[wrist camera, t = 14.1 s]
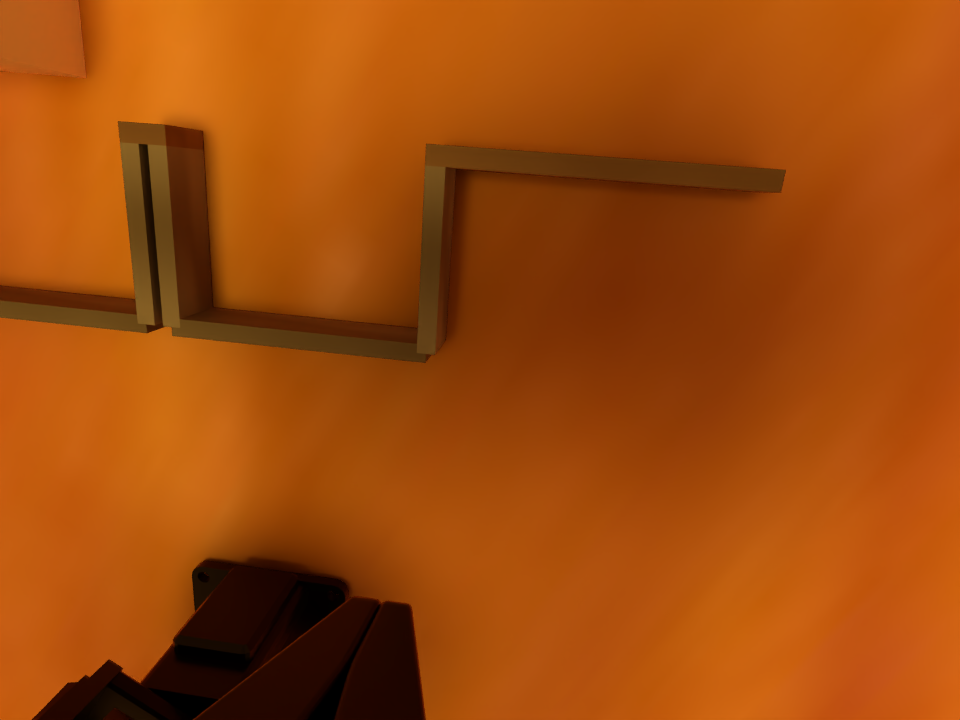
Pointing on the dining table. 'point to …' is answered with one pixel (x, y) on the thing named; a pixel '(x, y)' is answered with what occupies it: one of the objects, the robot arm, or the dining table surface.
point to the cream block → (41, 37)
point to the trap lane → (189, 311)
